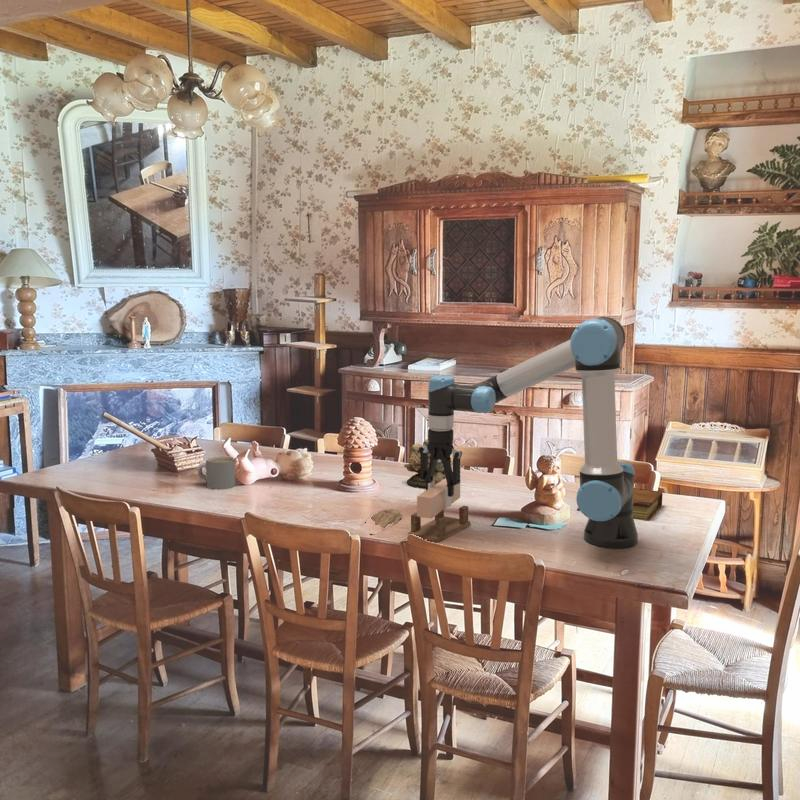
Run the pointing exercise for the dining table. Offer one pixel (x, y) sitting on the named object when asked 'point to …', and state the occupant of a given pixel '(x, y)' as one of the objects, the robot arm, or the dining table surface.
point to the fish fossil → (386, 517)
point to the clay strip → (435, 499)
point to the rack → (439, 525)
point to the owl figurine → (415, 467)
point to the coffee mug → (218, 472)
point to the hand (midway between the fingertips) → (439, 504)
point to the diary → (645, 503)
